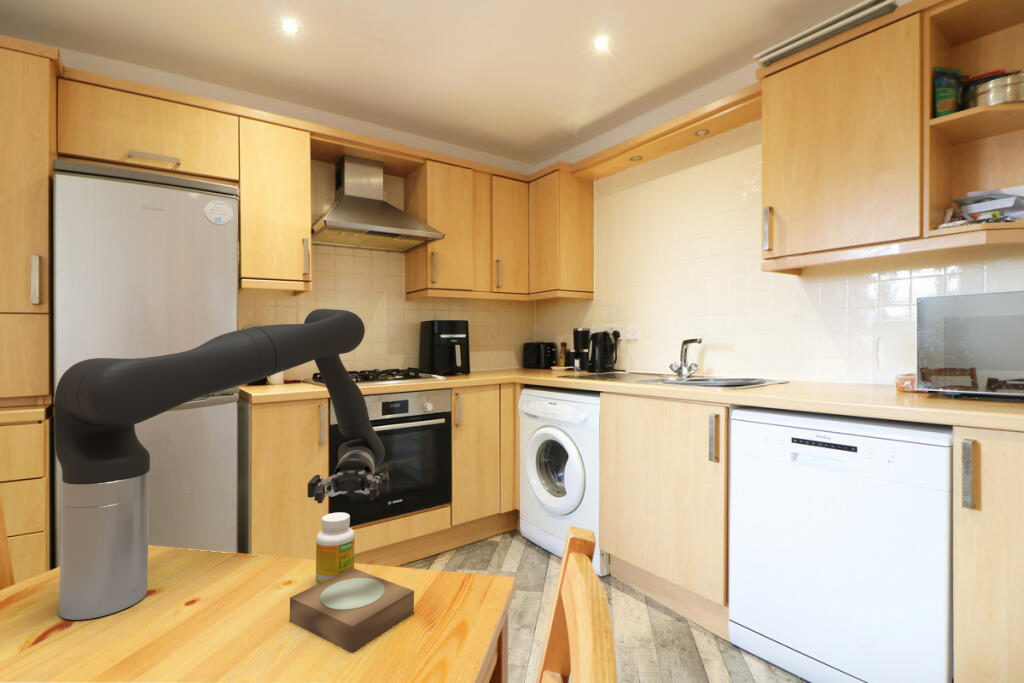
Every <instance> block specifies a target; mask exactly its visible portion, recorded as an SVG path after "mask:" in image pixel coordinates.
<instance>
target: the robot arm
mask: <svg viewBox="0 0 1024 683" xmlns="http://www.w3.org/2000/svg"><path fill="white" fill-rule="evenodd" d="M365 333H366V329H365V323H364V321H363V320H362V319H361V317H360V316H359V315H358V314H356V313H354V312H351V311H350V310H346V309H333V308H328V309H327V308H317V309H315V310H312V311H310V312H309V313H307V316H306V317H305V319H304V322H303V323H288V324H287V323H285V324H283V323H281V324H268V325H259V326H252V327H247V328H244V329H243V328H242V329H238V330H233V331H230V332H229V331H228V332H226V333H223V334H220V335H218V336H215V337H213V338H211V339H209V340H207V341H205V342H204V343H202V344H201V345H198V346H196V347H195V348H192V349H189V350H183V351H181V352H177V353H176V352H175V353H169V354H164V355H158V356H150V357H149V356H148V357H139V358H137V357H136V358H115V357H97V358H96V357H94V358H88V359H85V360H84V359H83V360H81V361H78V362H77V363H75V364H73V365H72V366H70V367H69V368H68V369H66V370H65V371H64V373H63V374H62V375H61V377H60V378H59V380H58V382H57V386H56V389H55V395H54V407H53V408H54V410H53V411H54V413H53V414H54V444H55V445H54V449H55V454H56V457H57V461H58V463H59V465H60V466H61V467H60V468H61V518H60V519H61V520H60V522H61V525H60V527H61V528H60V553H59V554H60V556H59V557H60V560H59V591H58V593H59V594H58V595H59V596H58V598H59V599H58V616H60V617H61V618H62V619H65V620H72V621H73V620H75V621H76V620H77V621H78V620H87V619H88V620H90V619H94V618H100V617H103V616H108V615H112V614H114V613H117V612H119V611H123V610H125V609H127V608H129V607H131V606H133V605H135V604H137V603H138V602H140V601H141V600H142V599H144V598H145V596H146V595H147V592H148V569H149V568H148V564H149V533H150V532H149V529H150V528H149V525H150V524H149V523H150V519H149V518H150V484H151V483H150V480H151V478H150V477H151V476H150V475H151V472H150V471H151V470H150V469H151V455H150V452H149V450H148V449H147V448H146V447H145V446H144V445H143V444H142V443H141V441H140V440H139V438H138V436H137V434H136V428H135V427H136V426H135V425H137V424H140V423H142V422H144V421H147V420H150V419H152V418H154V417H157V416H159V415H161V414H163V413H166V412H167V411H170V410H173V409H175V408H176V407H179V406H181V405H184V404H185V403H187V402H190V401H192V400H196V399H198V398H200V397H202V396H207V395H211V394H215V393H218V392H222V391H223V392H224V391H226V390H230V389H233V388H236V387H240V386H242V385H246V384H249V383H252V382H256V381H259V380H262V379H265V378H269V377H271V376H273V375H276V374H279V373H282V372H284V371H287V370H291V369H293V368H296V367H298V366H301V365H304V364H306V363H309V362H312V361H314V363H315V365H316V367H317V369H318V371H319V374H320V376H321V378H322V380H323V383H324V385H325V387H326V389H327V392H328V395H329V398H330V400H331V404H332V406H333V411H334V415H335V420H336V423H337V427H338V430H339V432H340V435H342V436H343V437H346V438H355V439H354V440H347V441H346V442H343V443H342V444H340V446H339V447H338V450H337V458H338V459H337V460H338V463H337V464H336V467H335V469H334V471H333V473H332V475H330V476H328V477H326V478H323V477H322V476H321V475H320V474H315V475H313V477H311V479H310V480H309V481H308V482H307V498H310V499H311V498H314V499H313V500H314V501H315V502H317V504H323V503H324V500H325V498H326V497H335V496H338V495H340V494H341V495H343V496H346V497H347V496H348V497H356V496H359V495H361V494H364V495H369V496H368V498H369V499H368V500H369V501H374V498H377V497H378V496H379V494H380V492H382V494H383V493H384V494H387V493H389V492H390V476H389V475H390V474H389V471H387V470H384V471H382V472H381V473H379V475H375V467H376V466H378V465H380V464H381V463H382V462H383V461H384V459H385V455H386V452H385V446H384V444H383V443H382V440H381V438H380V437H379V435H378V434H377V433H376V431H375V429H374V428H373V425H372V423H371V419H370V415H369V411H368V407H367V402H366V399H365V397H364V393H363V392H362V391H361V389H360V387H359V386H358V384H357V383H356V382H355V380H354V379H353V378H352V376H351V374H350V373H349V372H348V370H347V369H346V367H345V365H344V362H343V361H342V359H341V357H340V355H342V354H347V353H350V352H352V351H354V350H356V349H357V348H358V346H360V345H361V343H362V341H363V340H364V337H365ZM356 438H357V439H356Z"/></svg>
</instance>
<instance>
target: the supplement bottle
mask: <svg viewBox="0 0 1024 683" xmlns="http://www.w3.org/2000/svg"><path fill="white" fill-rule="evenodd" d="M350 522H351V515H350V514H349V513H347V512H332V513H328V514H325V515H323V516H322V517H321V524H320V526H321V529H322V530H321V531H319V532H318V533H317V536H316V540H315V542H316V547H315V548H316V549H315V585H318V584H320V583H322V582H324V581H326V580H328V579H331V578H333V577H335V576H337V575H339V574H341V573H344V572H346V571H348V570H350V569H352V568H354V569H355V531H354V529H352V528H351V527H350V524H351V523H350Z"/></svg>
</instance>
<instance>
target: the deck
mask: <svg viewBox="0 0 1024 683" xmlns="http://www.w3.org/2000/svg"><path fill="white" fill-rule="evenodd" d="M414 609H415V590H414V589H411V588H409V587H405V586H403V585H400V584H398V583H394V582H392V581H389V580H387V579H384V578H381V577H379V576H376V575H374V574H371V573H367V572H365V571H362V570H359V569H357V568H355V567H354V568H352V569H350V570H348V571H346V572H344V573H341V574H339V575H337V576H335V577H333V578H331V579H328V580H326V581H324V582H322V583H320V584H318V585H316V584H315V585H313V586H311V587H309V588H307V589H306V590H303V591H300V592H298V593H296V594H294V595H292V596H290V597H289V622H290V623H293V624H294V625H296V626H298V627H301V628H302V629H305V630H306V631H309V632H311V633H312V634H314V635H316V636H319V637H320V638H322V639H324V640H326V641H328V642H330V643H333V644H334V645H336V646H338V647H340V648H342V649H345V650H346V651H347V652H349V653H352V654H353V653H355V652H356V651H358V650H359V649H361V648H362V647H364V646H365V645H367V644H369V643H370V642H372V641H373V640H375V639H376V638H378V637H379V636H381V635H383V634H384V633H386V632H387V631H389V630H390V629H392V628H393V627H395V626H396V625H398V624H399V623H401V622H403V621H404V620H406V619H408V618H409V617H410V616H412V615H414V614H415V610H414Z"/></svg>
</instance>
